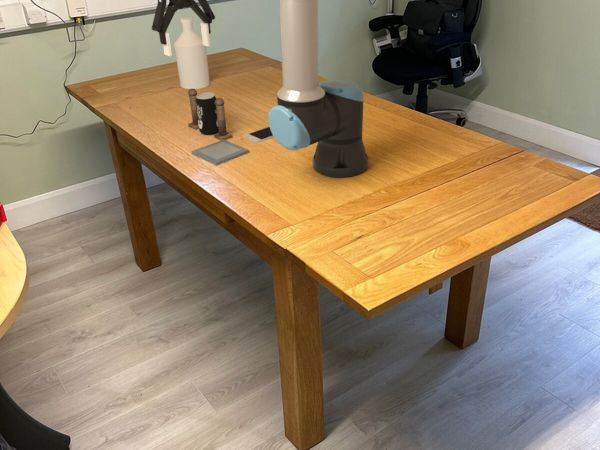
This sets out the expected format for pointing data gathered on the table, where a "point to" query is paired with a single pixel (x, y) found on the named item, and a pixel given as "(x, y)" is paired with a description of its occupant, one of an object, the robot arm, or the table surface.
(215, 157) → the slate coaster
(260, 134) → the smartphone
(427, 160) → the table surface
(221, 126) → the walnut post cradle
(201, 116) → the beverage can
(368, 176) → the table surface
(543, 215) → the table surface
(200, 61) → the bottle
